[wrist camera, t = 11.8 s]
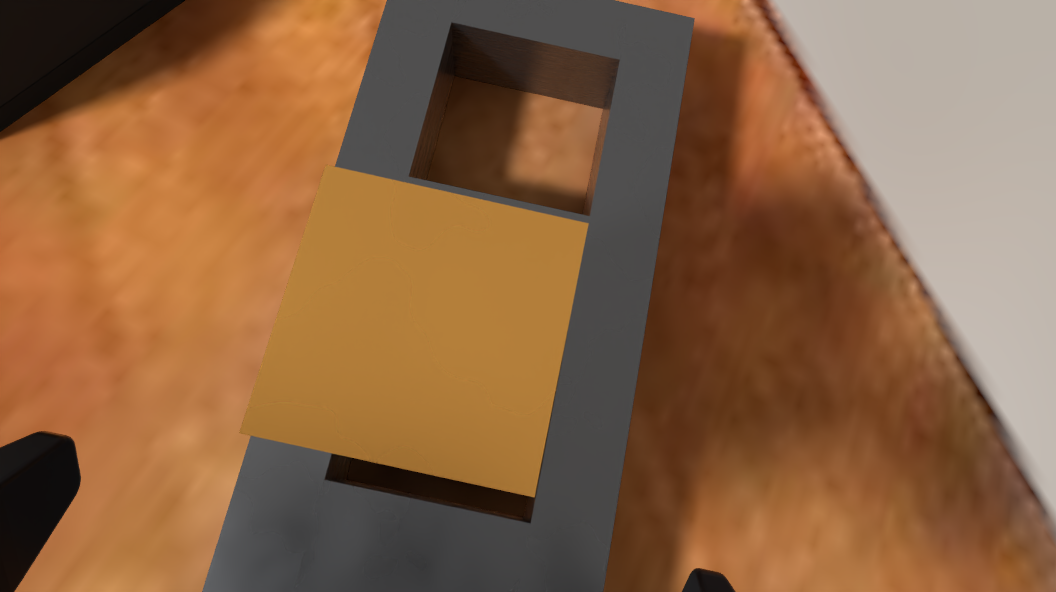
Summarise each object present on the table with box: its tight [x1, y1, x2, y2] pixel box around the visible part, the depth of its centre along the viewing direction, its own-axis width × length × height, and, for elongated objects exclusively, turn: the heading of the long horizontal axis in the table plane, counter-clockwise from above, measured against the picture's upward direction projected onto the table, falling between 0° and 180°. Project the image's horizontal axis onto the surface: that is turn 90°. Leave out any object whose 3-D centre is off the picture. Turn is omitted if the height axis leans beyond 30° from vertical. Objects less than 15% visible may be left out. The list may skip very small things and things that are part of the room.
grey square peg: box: [239, 165, 589, 497], centre depth 15 cm, size 4×4×12 cm
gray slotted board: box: [202, 0, 695, 592], centre depth 20 cm, size 28×10×3 cm, turn 168°
